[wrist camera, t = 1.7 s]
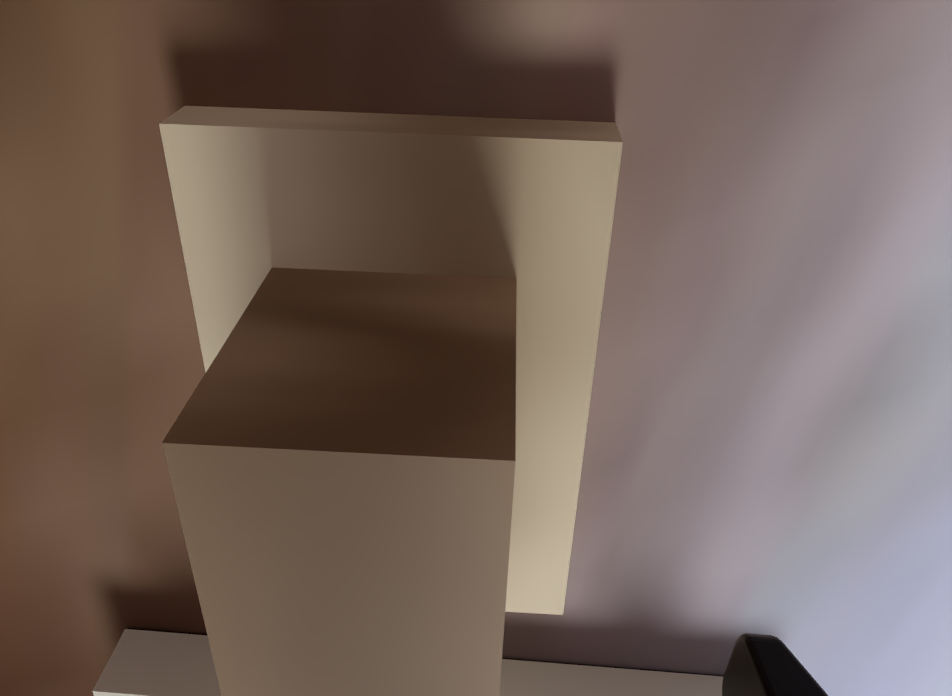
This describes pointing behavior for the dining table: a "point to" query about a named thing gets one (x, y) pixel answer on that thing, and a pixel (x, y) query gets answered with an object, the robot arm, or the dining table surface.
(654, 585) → the dining table surface
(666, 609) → the dining table surface
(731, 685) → the robot arm
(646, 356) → the dining table surface
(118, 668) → the chassis
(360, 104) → the dining table surface
